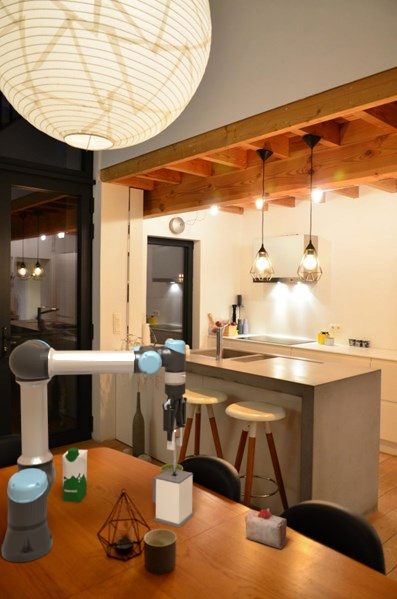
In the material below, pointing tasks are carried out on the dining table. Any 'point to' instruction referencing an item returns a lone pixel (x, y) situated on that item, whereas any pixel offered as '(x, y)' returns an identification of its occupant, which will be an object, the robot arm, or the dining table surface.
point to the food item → (266, 528)
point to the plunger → (177, 435)
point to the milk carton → (74, 475)
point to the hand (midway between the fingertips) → (174, 447)
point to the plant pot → (168, 466)
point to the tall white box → (173, 497)
